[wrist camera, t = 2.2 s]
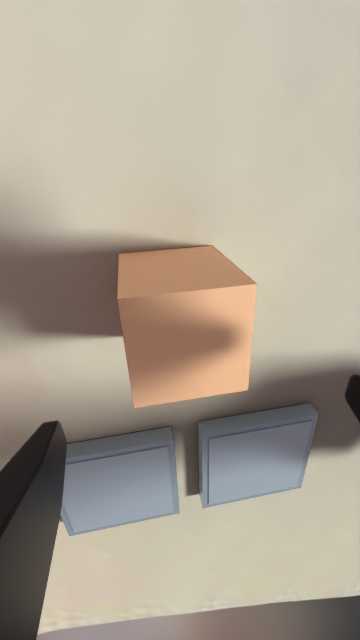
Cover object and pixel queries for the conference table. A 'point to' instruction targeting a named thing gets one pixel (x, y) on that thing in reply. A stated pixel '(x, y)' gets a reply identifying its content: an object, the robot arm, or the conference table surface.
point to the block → (185, 324)
